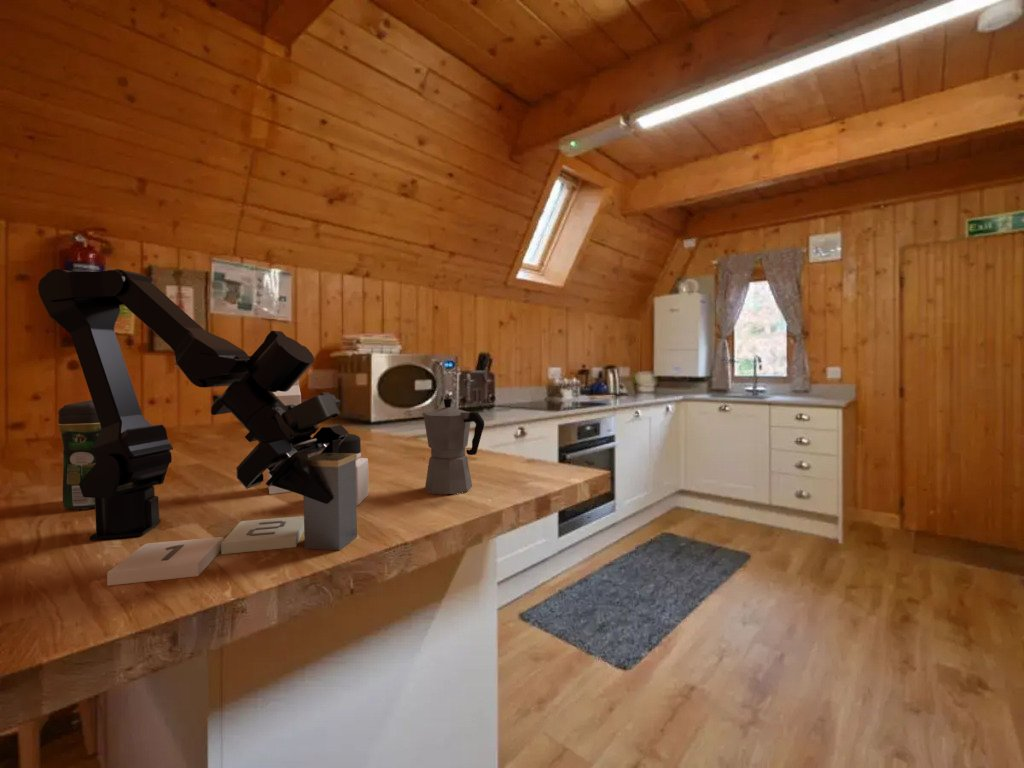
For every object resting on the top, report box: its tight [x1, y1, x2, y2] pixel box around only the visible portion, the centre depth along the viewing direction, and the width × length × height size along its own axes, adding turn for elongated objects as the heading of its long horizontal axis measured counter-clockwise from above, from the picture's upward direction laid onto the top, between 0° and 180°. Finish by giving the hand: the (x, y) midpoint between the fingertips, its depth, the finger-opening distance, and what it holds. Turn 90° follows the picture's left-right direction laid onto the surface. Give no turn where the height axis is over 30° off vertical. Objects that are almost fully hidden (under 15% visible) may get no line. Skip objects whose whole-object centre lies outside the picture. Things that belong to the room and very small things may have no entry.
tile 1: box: [106, 536, 224, 587], centre depth 59 cm, size 9×9×2 cm
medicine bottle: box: [338, 433, 370, 507], centre depth 86 cm, size 7×7×12 cm
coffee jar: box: [57, 399, 101, 511], centre depth 86 cm, size 10×8×19 cm
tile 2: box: [220, 515, 304, 555], centre depth 68 cm, size 9×9×2 cm
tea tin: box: [302, 453, 358, 551], centre depth 66 cm, size 5×5×12 cm
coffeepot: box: [422, 397, 485, 495], centre depth 93 cm, size 15×9×18 cm, turn 55°
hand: (340, 495), depth 66 cm, fingers closed on tea tin, 5 cm apart
